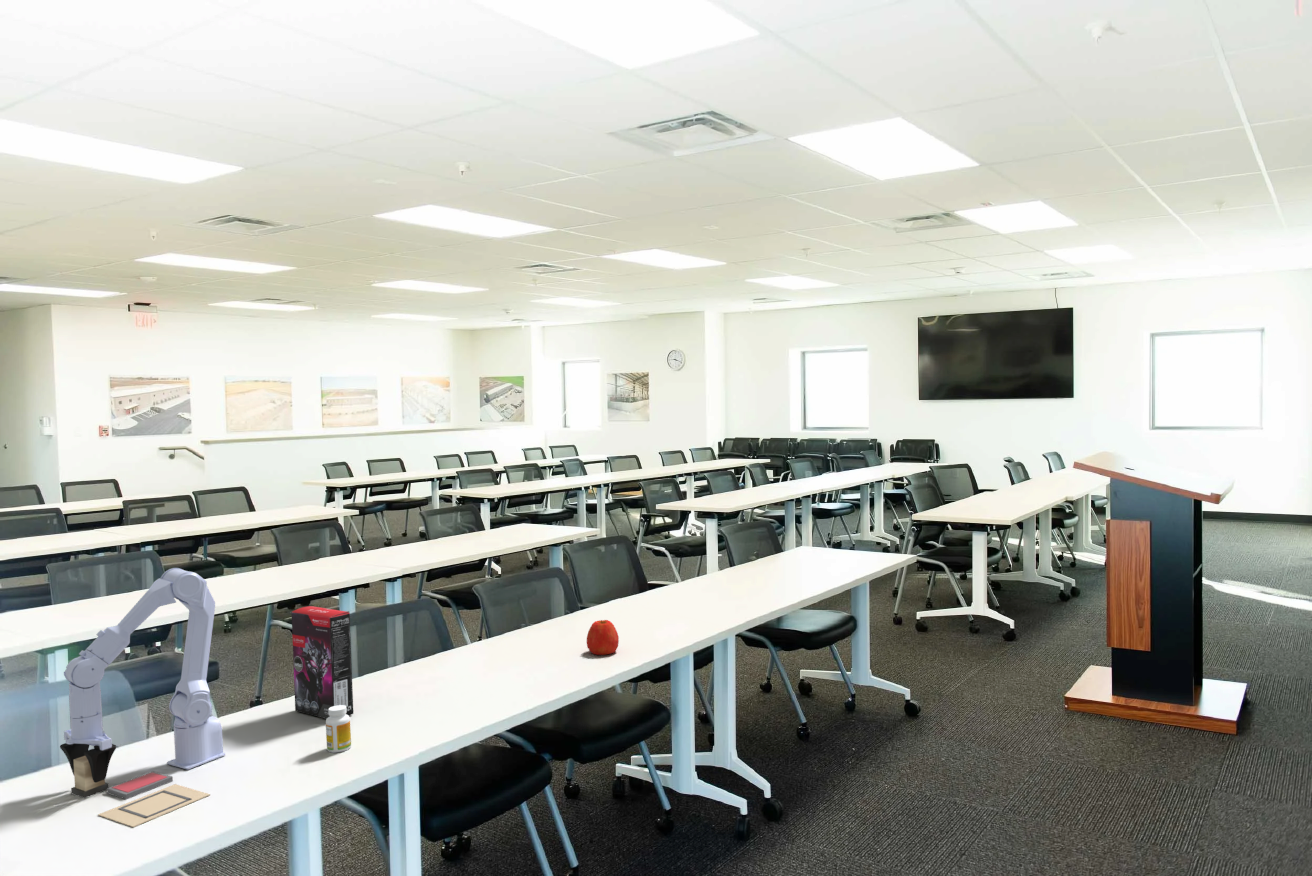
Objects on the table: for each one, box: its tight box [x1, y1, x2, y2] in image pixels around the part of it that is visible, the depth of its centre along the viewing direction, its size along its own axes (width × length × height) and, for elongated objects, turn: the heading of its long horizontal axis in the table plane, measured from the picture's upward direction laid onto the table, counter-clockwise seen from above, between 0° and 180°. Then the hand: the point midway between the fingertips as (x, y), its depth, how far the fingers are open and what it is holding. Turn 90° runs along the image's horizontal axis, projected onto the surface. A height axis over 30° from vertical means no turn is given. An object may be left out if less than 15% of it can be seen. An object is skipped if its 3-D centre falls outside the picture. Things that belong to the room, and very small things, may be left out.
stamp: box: [70, 756, 110, 799], centre depth 191 cm, size 5×5×7 cm
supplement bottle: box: [325, 705, 352, 753], centre depth 211 cm, size 5×5×10 cm
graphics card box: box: [291, 605, 354, 720], centre depth 236 cm, size 17×7×27 cm, turn 56°
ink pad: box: [106, 770, 174, 800], centre depth 192 cm, size 10×7×1 cm
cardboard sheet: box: [97, 783, 211, 828], centre depth 183 cm, size 16×12×1 cm
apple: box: [586, 619, 620, 656], centre depth 287 cm, size 10×10×10 cm
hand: (89, 777), depth 191 cm, fingers open, 7 cm apart
